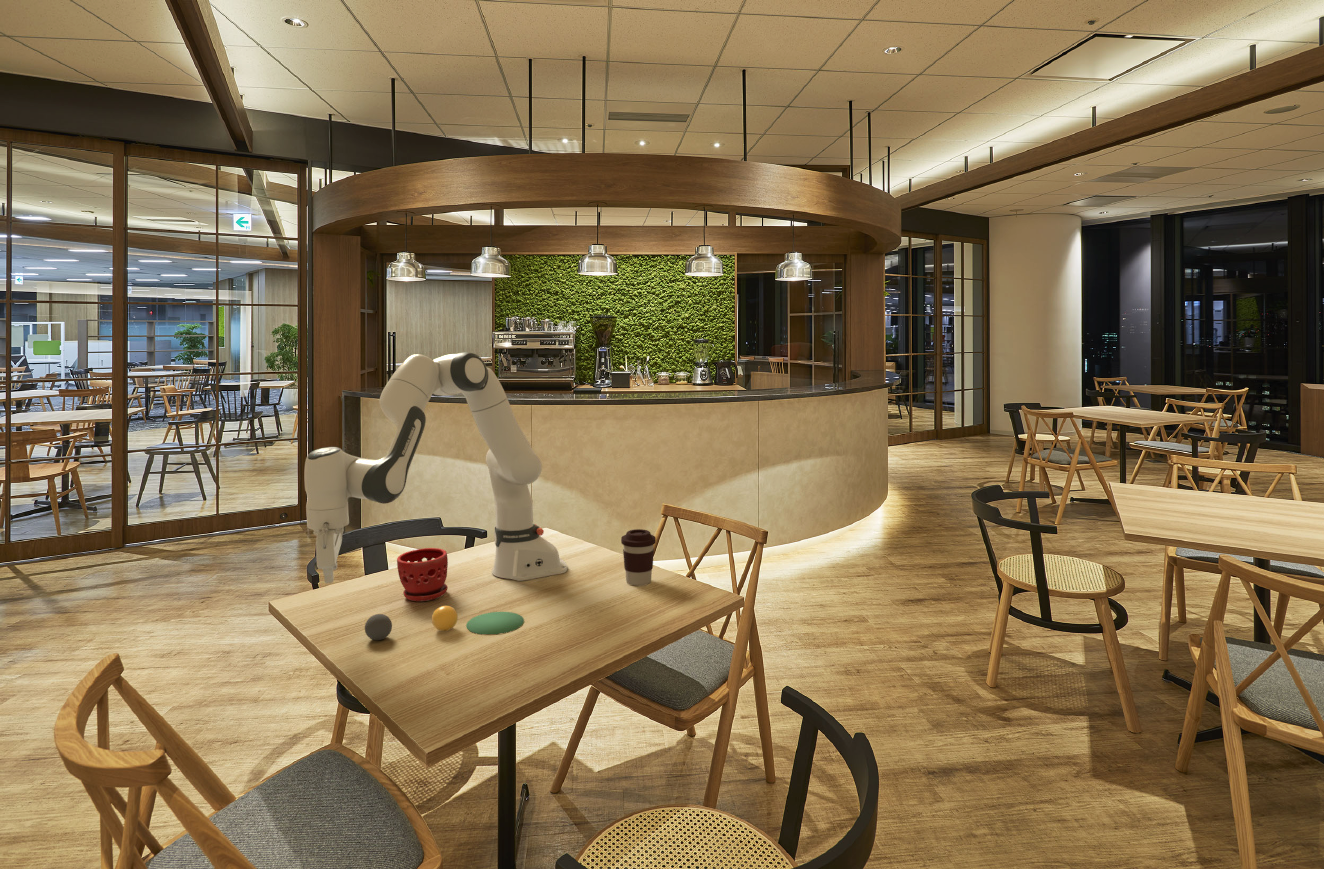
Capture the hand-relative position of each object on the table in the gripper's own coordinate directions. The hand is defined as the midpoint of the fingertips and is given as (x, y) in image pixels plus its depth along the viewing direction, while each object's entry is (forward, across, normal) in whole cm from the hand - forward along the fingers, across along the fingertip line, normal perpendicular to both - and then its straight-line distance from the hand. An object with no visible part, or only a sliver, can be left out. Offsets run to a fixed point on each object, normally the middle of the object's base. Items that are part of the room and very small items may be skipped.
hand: (331, 575), depth 166 cm
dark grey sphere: (+12, -4, -10) cm, 16 cm away
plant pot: (+15, +22, -21) cm, 34 cm away
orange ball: (+12, -4, -25) cm, 28 cm away
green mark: (+15, -4, -37) cm, 40 cm away
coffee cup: (+15, +12, -80) cm, 82 cm away
